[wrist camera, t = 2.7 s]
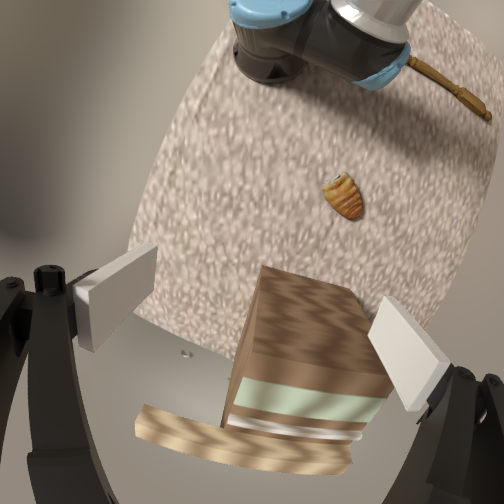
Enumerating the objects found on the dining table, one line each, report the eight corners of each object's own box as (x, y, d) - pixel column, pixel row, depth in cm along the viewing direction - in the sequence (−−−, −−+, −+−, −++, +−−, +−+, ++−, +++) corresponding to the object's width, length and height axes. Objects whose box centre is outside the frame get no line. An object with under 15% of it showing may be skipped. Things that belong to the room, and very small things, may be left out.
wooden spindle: (402, 47, 39) (494, 112, 39) (397, 51, 42) (487, 114, 42) (401, 56, 40) (493, 122, 40) (396, 61, 43) (486, 123, 43)
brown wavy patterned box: (235, 353, 64) (213, 459, 34) (262, 265, 57) (251, 358, 27) (311, 370, 64) (326, 473, 34) (349, 288, 57) (404, 382, 27)
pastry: (368, 206, 52) (374, 209, 49) (342, 225, 54) (347, 228, 50) (343, 169, 51) (348, 168, 47) (317, 187, 52) (320, 188, 49)
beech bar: (144, 418, 34) (135, 436, 30) (144, 403, 33) (134, 422, 29) (337, 456, 34) (340, 474, 30) (348, 444, 33) (352, 463, 29)
